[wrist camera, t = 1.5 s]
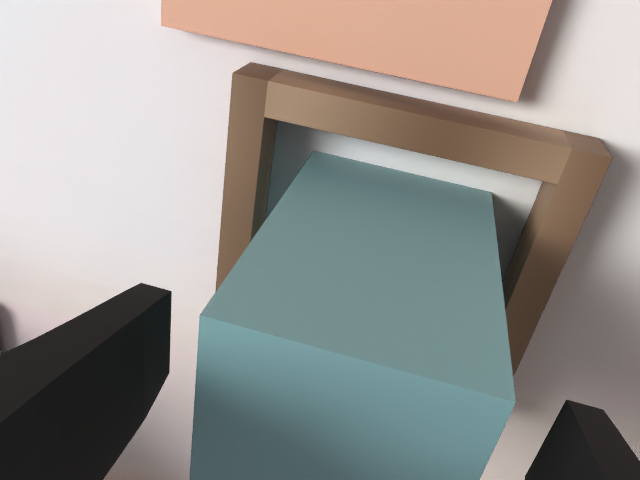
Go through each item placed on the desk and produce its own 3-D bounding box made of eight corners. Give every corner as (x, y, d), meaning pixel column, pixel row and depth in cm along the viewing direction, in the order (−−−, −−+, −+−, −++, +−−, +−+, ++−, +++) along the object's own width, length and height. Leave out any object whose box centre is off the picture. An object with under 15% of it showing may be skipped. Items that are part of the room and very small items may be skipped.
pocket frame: (226, 326, 17) (210, 351, 16) (250, 62, 13) (232, 73, 12) (487, 398, 16) (488, 430, 15) (600, 138, 12) (613, 157, 11)
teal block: (290, 293, 16) (188, 507, 10) (313, 150, 14) (200, 315, 8) (442, 333, 16) (429, 584, 10) (491, 192, 13) (515, 402, 7)
